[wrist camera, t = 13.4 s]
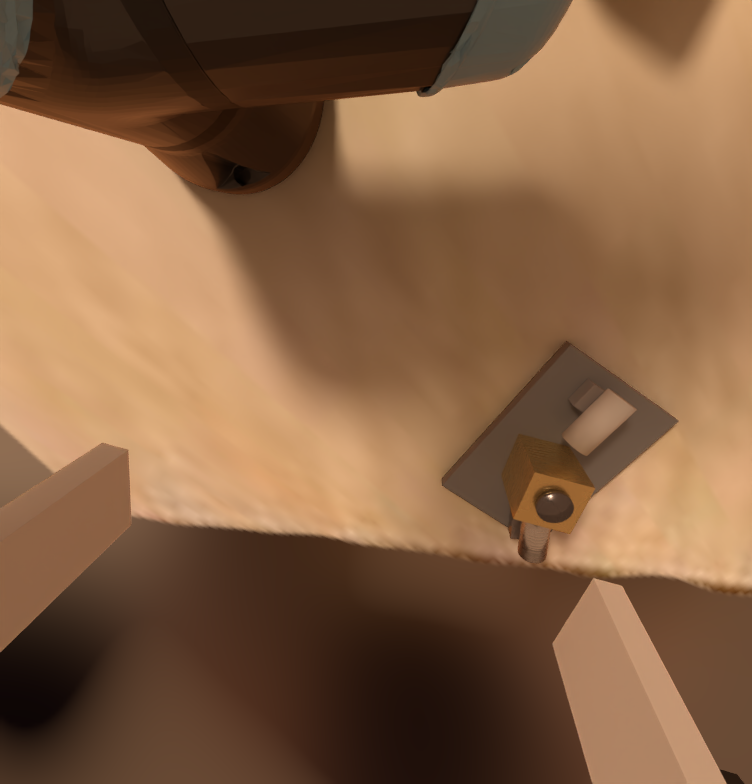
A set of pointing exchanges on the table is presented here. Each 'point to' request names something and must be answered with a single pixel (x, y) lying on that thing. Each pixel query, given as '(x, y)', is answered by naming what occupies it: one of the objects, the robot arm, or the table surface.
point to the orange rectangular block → (545, 484)
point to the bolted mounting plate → (562, 428)
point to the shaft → (529, 539)
